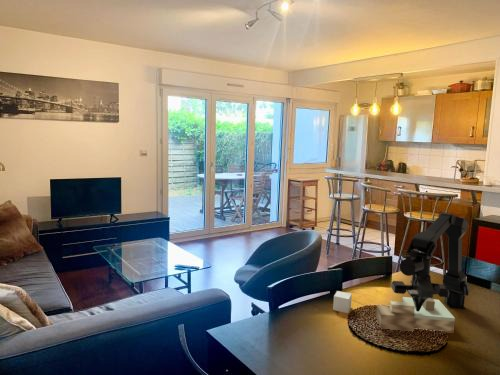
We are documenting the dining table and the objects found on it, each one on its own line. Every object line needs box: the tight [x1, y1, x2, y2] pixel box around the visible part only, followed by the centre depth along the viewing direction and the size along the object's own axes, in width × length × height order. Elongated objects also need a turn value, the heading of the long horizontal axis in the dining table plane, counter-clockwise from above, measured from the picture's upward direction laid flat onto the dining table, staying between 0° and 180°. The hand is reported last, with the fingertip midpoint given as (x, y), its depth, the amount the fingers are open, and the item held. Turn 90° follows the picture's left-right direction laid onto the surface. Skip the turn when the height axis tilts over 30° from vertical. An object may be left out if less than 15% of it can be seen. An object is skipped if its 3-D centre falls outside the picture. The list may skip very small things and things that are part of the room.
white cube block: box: [332, 290, 352, 314], centre depth 153 cm, size 6×6×6 cm
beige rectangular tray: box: [375, 300, 456, 334], centre depth 144 cm, size 26×18×6 cm
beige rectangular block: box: [389, 300, 415, 314], centre depth 139 cm, size 8×3×3 cm, turn 83°
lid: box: [401, 296, 456, 322], centre depth 144 cm, size 14×16×6 cm
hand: (417, 310), depth 139 cm, fingers closed
